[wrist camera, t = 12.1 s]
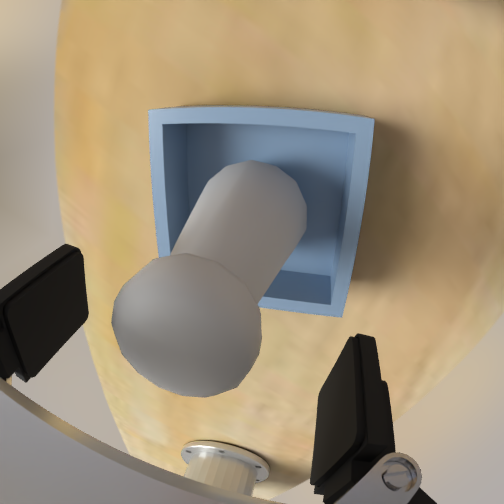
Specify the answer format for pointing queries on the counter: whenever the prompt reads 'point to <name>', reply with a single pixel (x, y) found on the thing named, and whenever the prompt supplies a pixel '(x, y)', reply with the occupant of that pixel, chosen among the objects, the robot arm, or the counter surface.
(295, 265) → the slate-blue bin
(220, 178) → the salt shaker
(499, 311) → the counter surface
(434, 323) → the counter surface
